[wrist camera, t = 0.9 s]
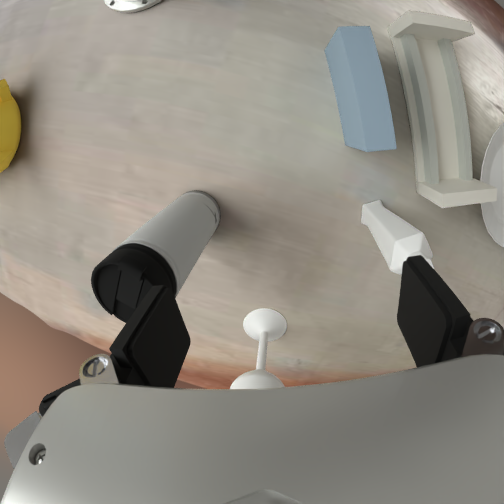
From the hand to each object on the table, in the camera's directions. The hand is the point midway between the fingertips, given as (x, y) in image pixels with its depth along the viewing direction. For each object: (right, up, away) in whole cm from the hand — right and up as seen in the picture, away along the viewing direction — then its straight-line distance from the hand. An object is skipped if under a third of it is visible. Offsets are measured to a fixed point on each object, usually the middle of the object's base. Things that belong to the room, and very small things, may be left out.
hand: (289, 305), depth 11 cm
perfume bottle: (+14, +7, +23) cm, 28 cm away
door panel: (+10, +20, +17) cm, 28 cm away
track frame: (+22, +20, +16) cm, 34 cm away
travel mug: (-8, +7, +25) cm, 28 cm away
